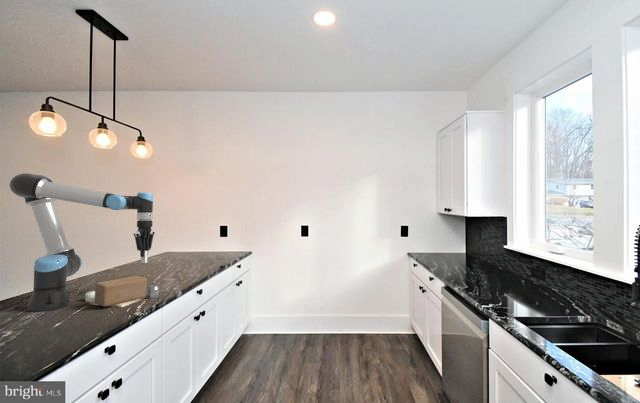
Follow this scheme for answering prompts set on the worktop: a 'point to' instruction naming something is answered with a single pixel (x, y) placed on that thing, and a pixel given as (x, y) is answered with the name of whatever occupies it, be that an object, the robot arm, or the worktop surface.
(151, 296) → the grey ball
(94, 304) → the board
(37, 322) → the worktop surface
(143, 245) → the robot arm
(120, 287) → the wooden block
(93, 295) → the white rounded lump
